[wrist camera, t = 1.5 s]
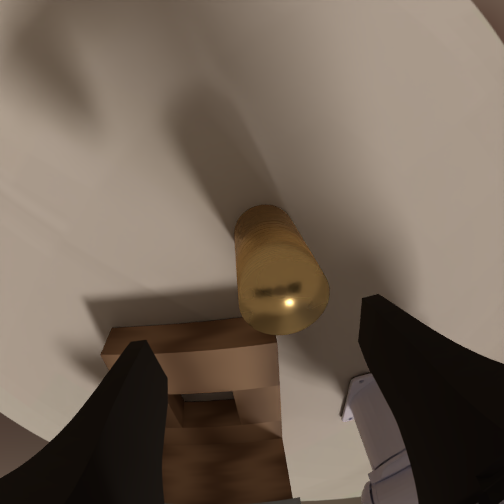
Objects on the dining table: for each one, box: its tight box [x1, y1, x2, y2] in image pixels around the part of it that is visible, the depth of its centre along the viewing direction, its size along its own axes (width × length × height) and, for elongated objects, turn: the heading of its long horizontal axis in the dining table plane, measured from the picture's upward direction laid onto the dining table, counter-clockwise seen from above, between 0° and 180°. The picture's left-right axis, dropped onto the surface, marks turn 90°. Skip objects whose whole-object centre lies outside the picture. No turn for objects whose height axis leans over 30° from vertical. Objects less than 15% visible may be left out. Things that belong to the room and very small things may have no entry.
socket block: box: [101, 317, 301, 504], centre depth 18 cm, size 13×15×11 cm
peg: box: [234, 205, 329, 335], centre depth 14 cm, size 4×4×7 cm
